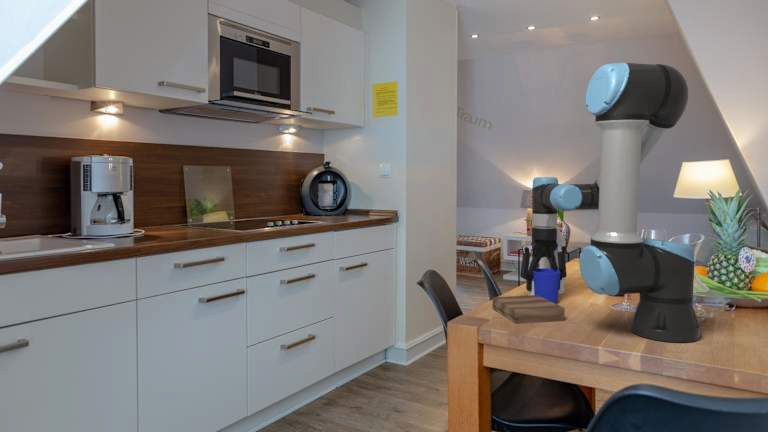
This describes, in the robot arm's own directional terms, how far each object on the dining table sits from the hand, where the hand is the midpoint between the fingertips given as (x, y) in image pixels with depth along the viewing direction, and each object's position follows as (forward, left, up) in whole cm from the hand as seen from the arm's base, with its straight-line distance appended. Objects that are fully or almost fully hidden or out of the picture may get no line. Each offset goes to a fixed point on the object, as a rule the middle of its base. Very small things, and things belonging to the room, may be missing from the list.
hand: (543, 300), depth 169 cm
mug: (0, -1, 0) cm, 1 cm away
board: (-14, +12, 0) cm, 19 cm away
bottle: (+12, -9, 0) cm, 15 cm away
